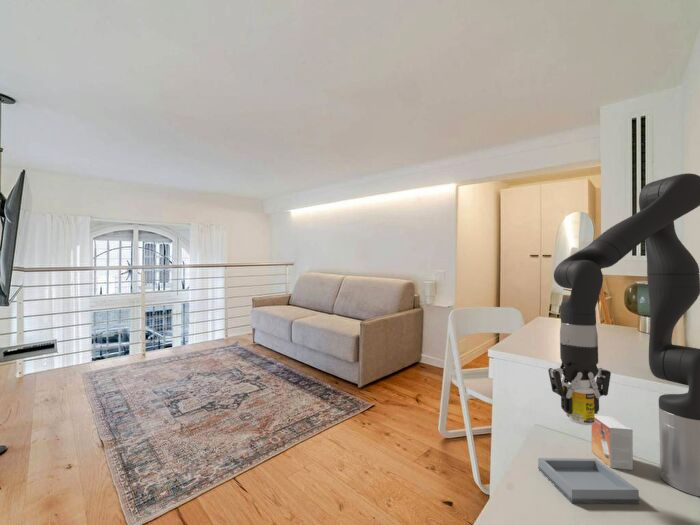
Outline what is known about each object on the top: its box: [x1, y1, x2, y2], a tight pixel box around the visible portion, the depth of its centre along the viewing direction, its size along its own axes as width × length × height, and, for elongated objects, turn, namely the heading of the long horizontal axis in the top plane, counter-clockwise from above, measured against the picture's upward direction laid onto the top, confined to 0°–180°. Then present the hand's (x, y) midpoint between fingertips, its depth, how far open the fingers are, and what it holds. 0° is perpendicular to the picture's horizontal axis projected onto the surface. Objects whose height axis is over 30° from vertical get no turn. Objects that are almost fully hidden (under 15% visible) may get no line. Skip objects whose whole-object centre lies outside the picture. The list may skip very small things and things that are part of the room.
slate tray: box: [537, 457, 640, 505], centre depth 76 cm, size 15×12×3 cm
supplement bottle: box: [565, 380, 596, 426], centre depth 76 cm, size 6×6×10 cm
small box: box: [591, 414, 634, 471], centre depth 86 cm, size 8×6×10 cm
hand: (580, 412), depth 76 cm, fingers closed on supplement bottle, 5 cm apart
